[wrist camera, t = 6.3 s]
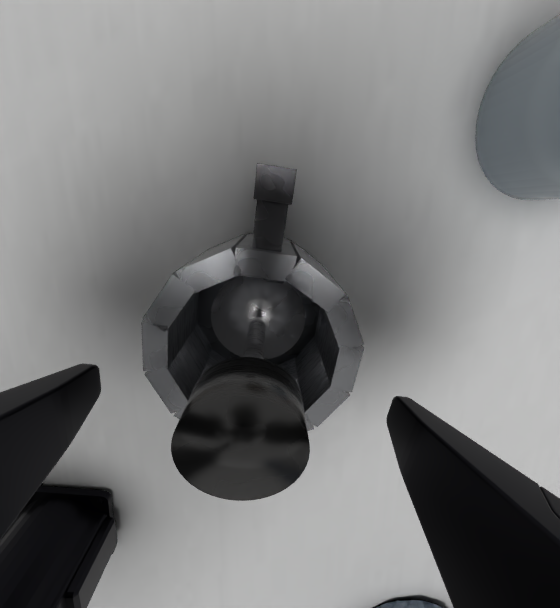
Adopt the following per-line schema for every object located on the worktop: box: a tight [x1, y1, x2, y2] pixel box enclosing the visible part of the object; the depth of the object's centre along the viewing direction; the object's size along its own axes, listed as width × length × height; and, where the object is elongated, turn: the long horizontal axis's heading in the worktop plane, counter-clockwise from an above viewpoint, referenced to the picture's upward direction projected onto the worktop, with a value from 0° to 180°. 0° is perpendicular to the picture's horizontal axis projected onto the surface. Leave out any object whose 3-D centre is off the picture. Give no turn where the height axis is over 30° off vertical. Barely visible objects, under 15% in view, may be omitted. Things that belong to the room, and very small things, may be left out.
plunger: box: [171, 275, 310, 501], centre depth 10 cm, size 5×5×8 cm
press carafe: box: [142, 163, 364, 431], centre depth 12 cm, size 8×11×5 cm
